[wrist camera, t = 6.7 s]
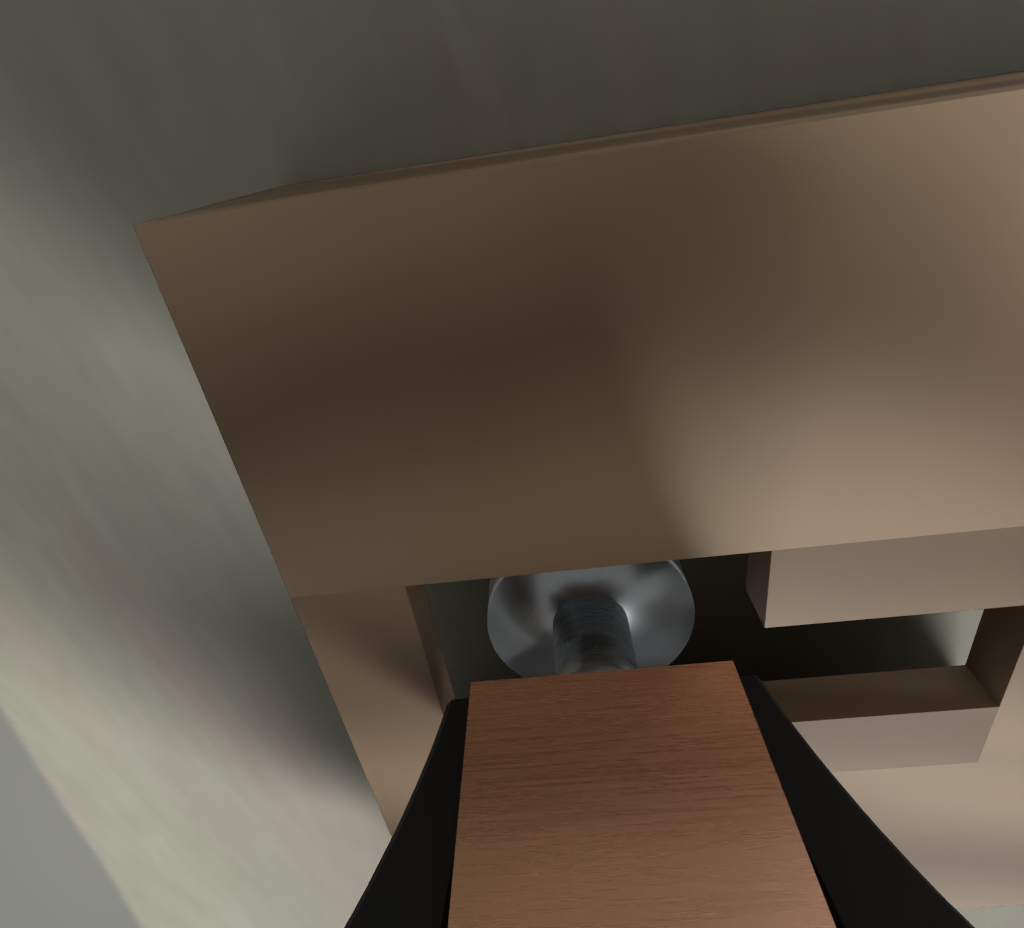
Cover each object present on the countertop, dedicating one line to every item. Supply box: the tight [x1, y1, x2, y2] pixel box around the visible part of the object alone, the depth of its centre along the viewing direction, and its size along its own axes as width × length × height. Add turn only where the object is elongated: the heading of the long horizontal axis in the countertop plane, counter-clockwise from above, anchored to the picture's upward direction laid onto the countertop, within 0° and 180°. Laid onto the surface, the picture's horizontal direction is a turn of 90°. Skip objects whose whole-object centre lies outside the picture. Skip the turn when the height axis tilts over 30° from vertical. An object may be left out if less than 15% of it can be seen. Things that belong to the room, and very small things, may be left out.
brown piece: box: [448, 560, 836, 928], centre depth 10 cm, size 4×4×8 cm
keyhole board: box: [133, 71, 1024, 908], centre depth 13 cm, size 18×16×5 cm
